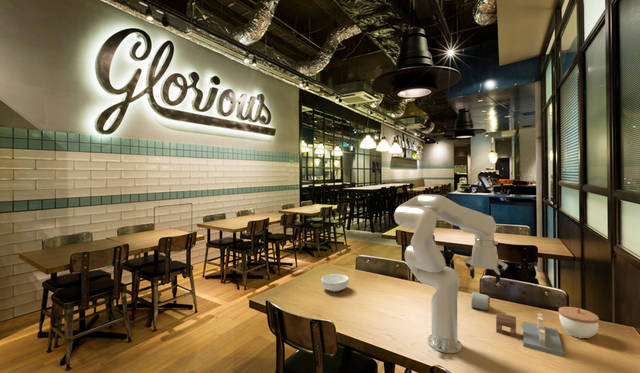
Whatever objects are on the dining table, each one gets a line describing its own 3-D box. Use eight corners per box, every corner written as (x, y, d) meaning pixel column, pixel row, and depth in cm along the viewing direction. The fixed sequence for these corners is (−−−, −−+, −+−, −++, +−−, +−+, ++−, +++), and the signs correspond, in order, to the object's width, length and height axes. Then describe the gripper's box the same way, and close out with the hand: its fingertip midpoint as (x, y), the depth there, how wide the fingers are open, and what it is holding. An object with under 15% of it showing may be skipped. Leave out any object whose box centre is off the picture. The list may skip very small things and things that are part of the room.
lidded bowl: (551, 326, 126) (551, 302, 126) (580, 326, 126) (580, 302, 126) (575, 342, 114) (575, 315, 113) (608, 342, 113) (608, 315, 113)
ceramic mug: (489, 313, 140) (489, 297, 140) (471, 309, 144) (471, 294, 144) (489, 305, 149) (489, 290, 149) (472, 302, 153) (472, 287, 153)
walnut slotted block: (515, 337, 118) (515, 320, 118) (496, 332, 122) (496, 316, 122) (516, 333, 121) (516, 316, 121) (496, 328, 125) (496, 312, 125)
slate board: (563, 356, 105) (563, 352, 105) (523, 346, 112) (523, 342, 112) (557, 332, 121) (557, 329, 121) (522, 324, 128) (522, 321, 128)
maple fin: (545, 346, 109) (545, 332, 109) (539, 345, 110) (539, 331, 110) (542, 326, 123) (542, 314, 123) (537, 325, 124) (537, 313, 124)
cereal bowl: (331, 282, 185) (331, 272, 185) (353, 288, 176) (353, 276, 175) (315, 291, 171) (315, 279, 171) (339, 297, 162) (338, 285, 162)
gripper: (508, 243, 125) (508, 281, 125) (465, 239, 136) (465, 274, 136) (506, 246, 119) (506, 287, 119) (461, 242, 130) (462, 278, 130)
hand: (484, 280), depth 128 cm, fingers open, 9 cm apart
